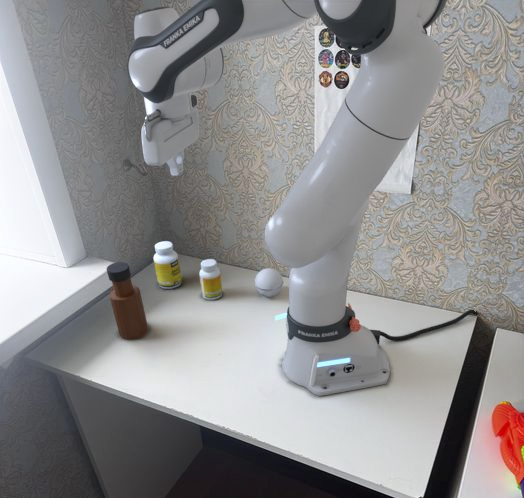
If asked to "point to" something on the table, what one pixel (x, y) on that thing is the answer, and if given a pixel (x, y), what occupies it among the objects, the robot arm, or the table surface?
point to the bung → (118, 272)
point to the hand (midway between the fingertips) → (177, 173)
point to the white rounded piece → (269, 282)
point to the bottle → (128, 310)
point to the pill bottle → (167, 265)
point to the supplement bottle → (210, 280)
